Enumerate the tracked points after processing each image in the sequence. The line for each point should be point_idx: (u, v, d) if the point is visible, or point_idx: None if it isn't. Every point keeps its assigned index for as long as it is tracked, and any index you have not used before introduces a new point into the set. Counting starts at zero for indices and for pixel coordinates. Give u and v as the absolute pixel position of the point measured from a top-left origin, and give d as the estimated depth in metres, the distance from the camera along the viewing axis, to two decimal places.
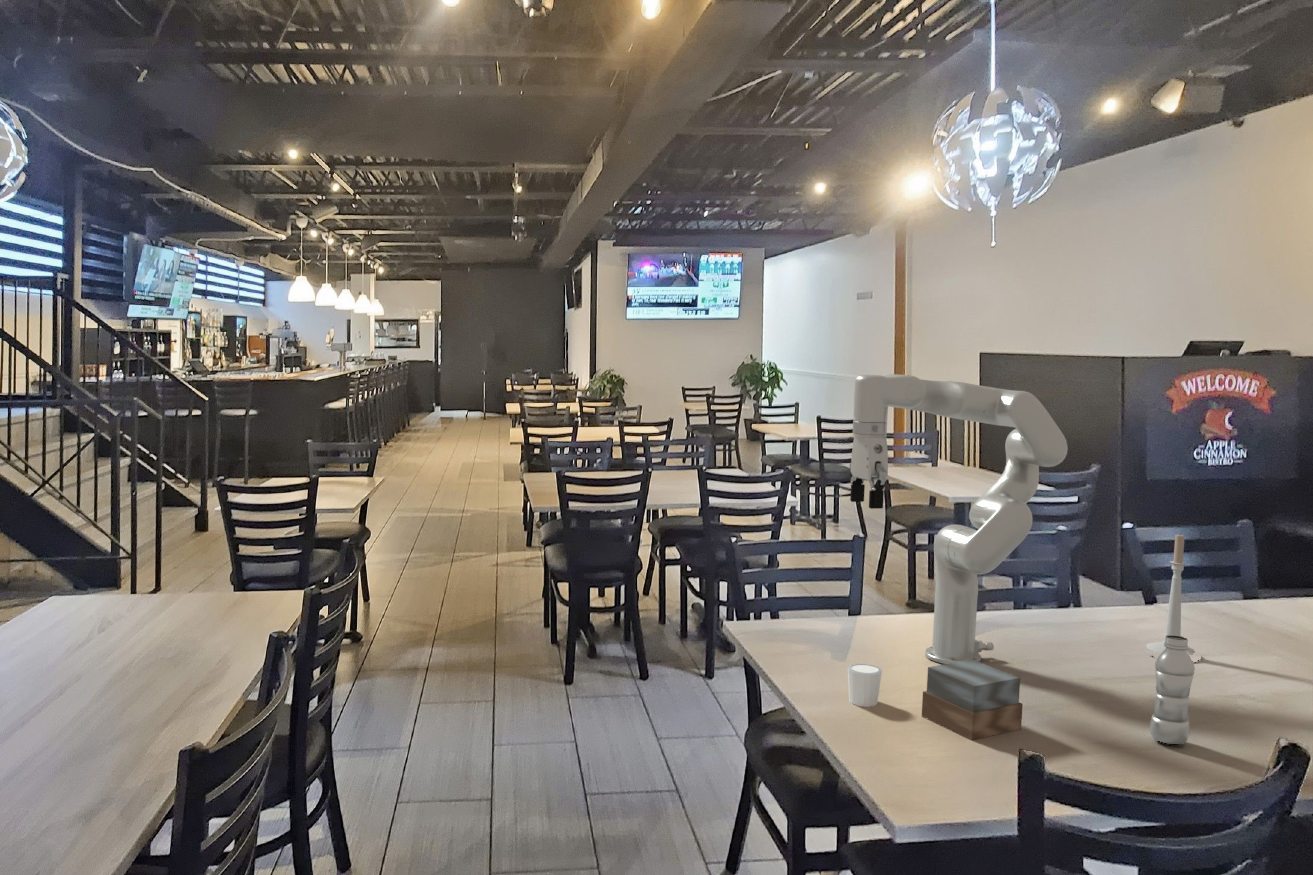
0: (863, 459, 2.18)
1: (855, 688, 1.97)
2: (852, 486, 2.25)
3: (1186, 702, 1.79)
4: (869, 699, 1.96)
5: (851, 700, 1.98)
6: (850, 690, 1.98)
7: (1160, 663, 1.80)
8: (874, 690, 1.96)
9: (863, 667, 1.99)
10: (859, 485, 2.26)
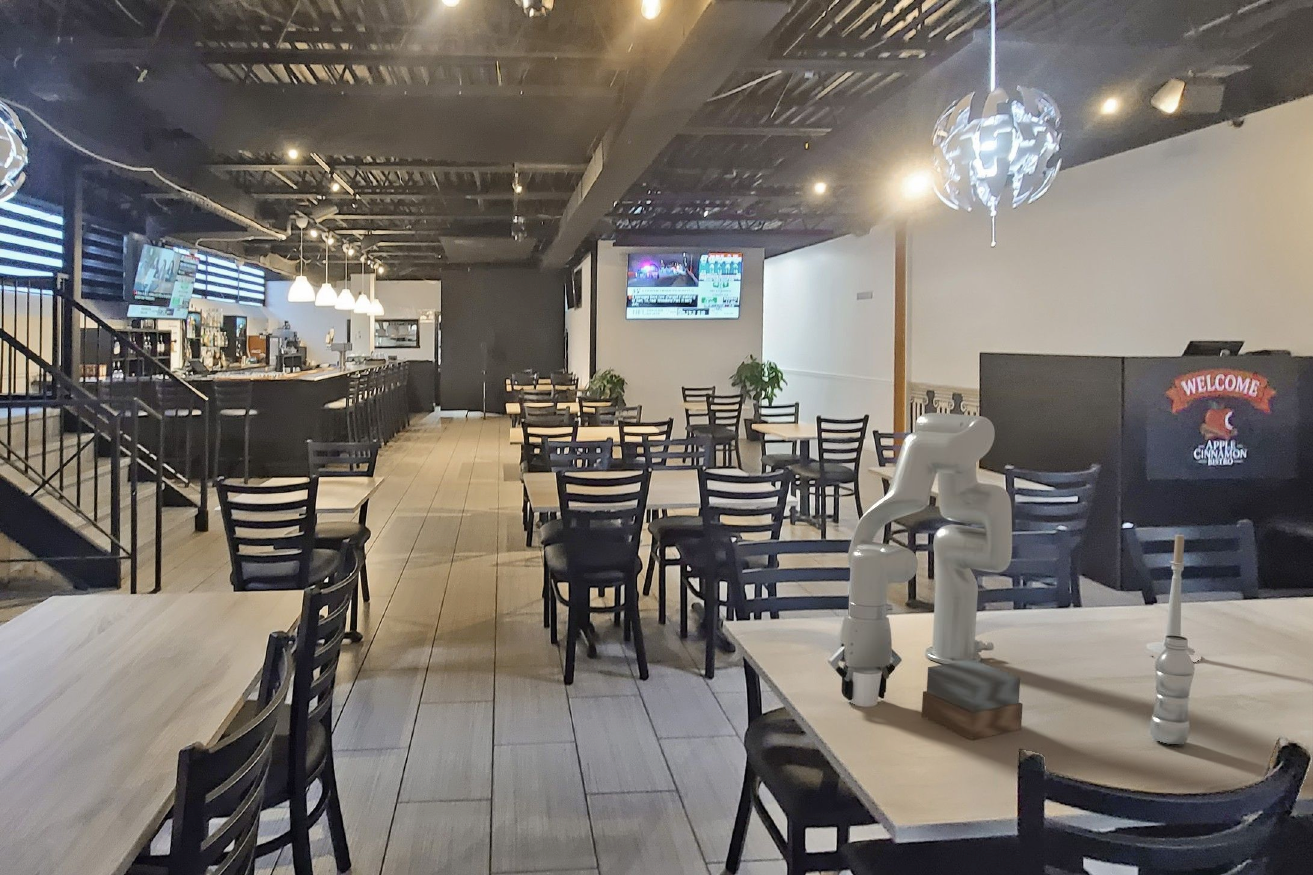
0: (882, 644, 1.96)
1: (855, 688, 1.97)
2: (852, 683, 1.96)
3: (1186, 702, 1.79)
4: (869, 699, 1.96)
5: (851, 700, 1.98)
6: None
7: (1160, 663, 1.80)
8: (874, 690, 1.96)
9: None
10: None
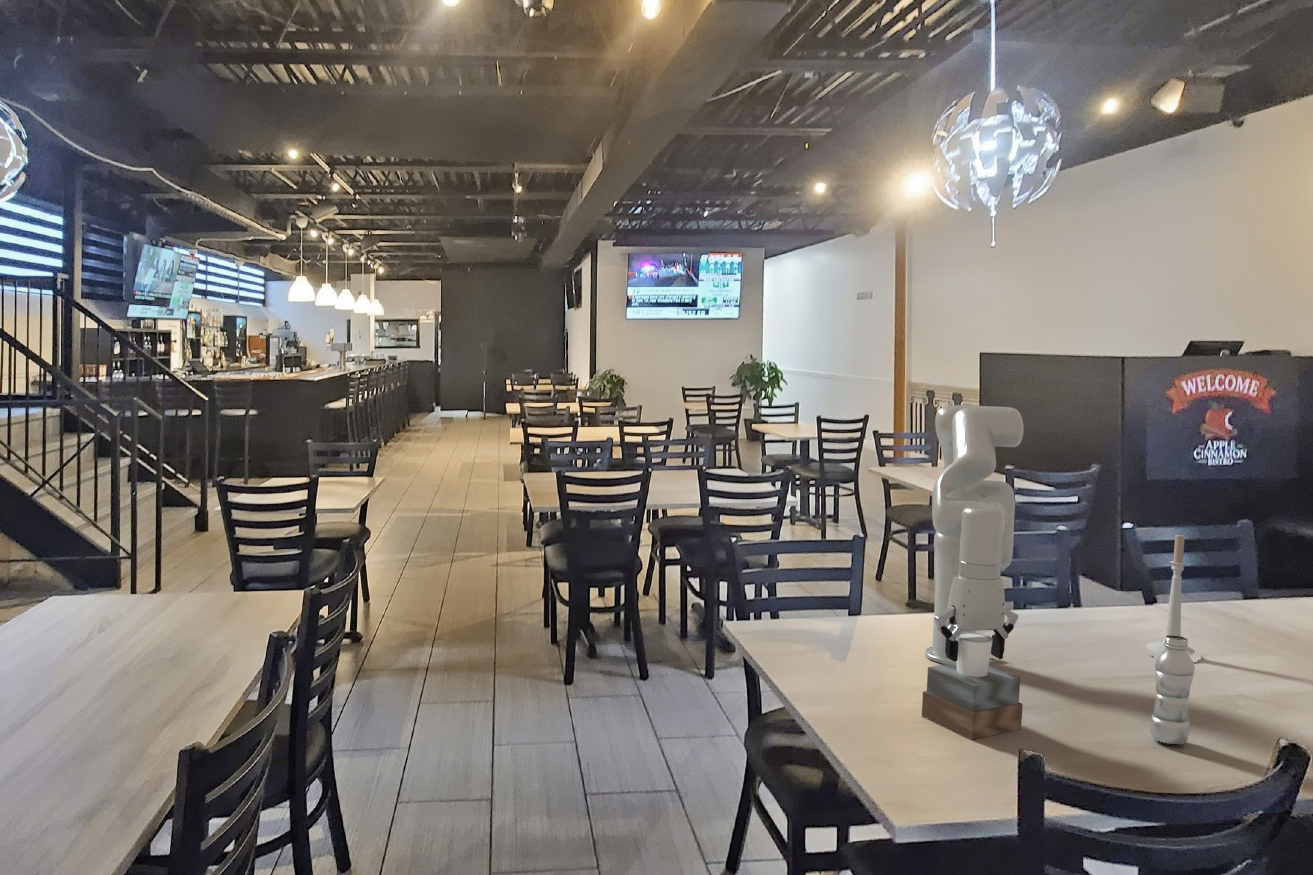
0: (995, 606, 1.85)
1: (965, 657, 1.86)
2: (957, 643, 1.85)
3: (1186, 702, 1.79)
4: (980, 669, 1.85)
5: (960, 670, 1.87)
6: (959, 659, 1.87)
7: (1160, 663, 1.80)
8: (985, 659, 1.85)
9: (972, 635, 1.89)
10: None
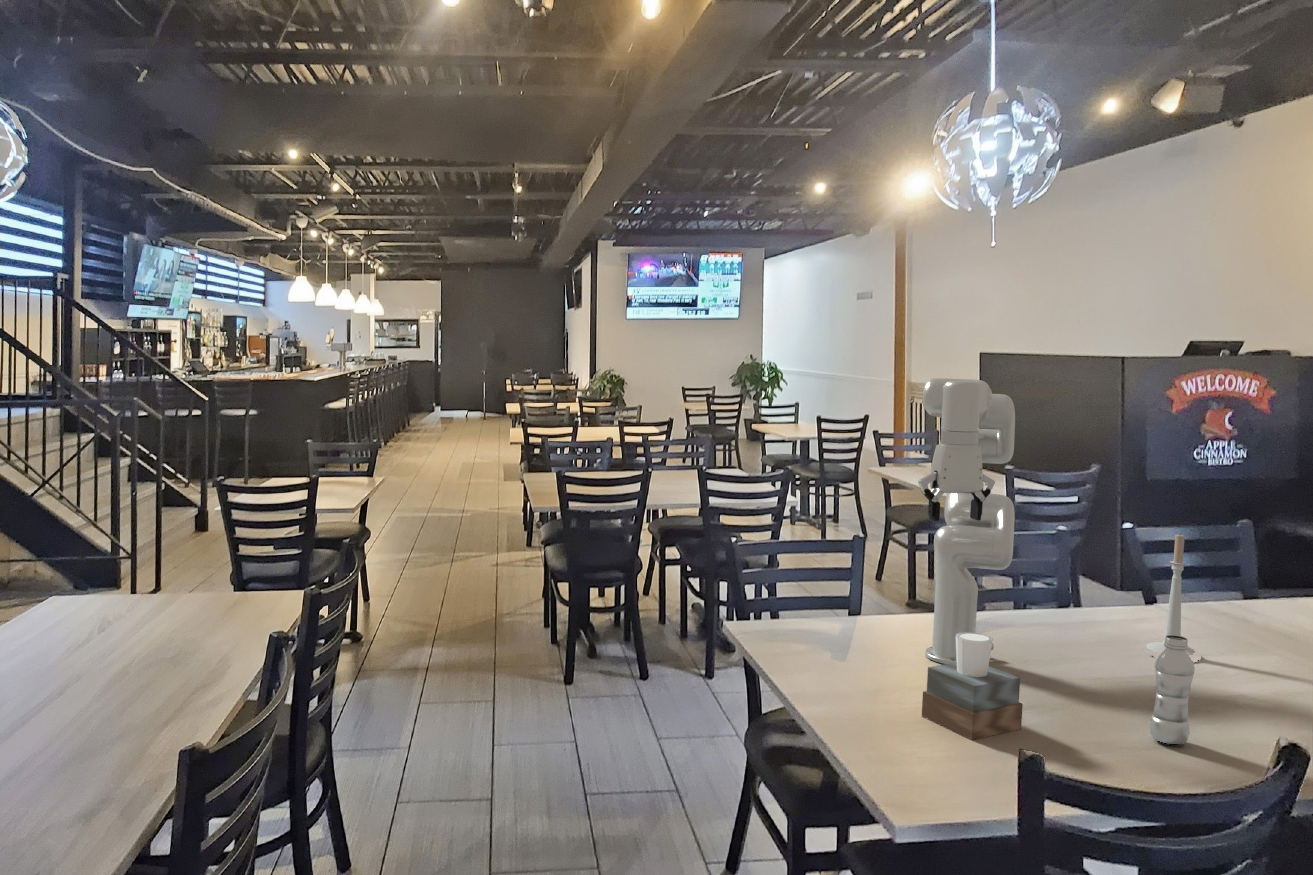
0: (974, 471, 2.04)
1: (965, 657, 1.86)
2: (939, 504, 2.04)
3: (1186, 702, 1.79)
4: (980, 669, 1.85)
5: (960, 670, 1.87)
6: (959, 659, 1.87)
7: (1160, 663, 1.80)
8: (985, 659, 1.85)
9: (972, 635, 1.89)
10: None
